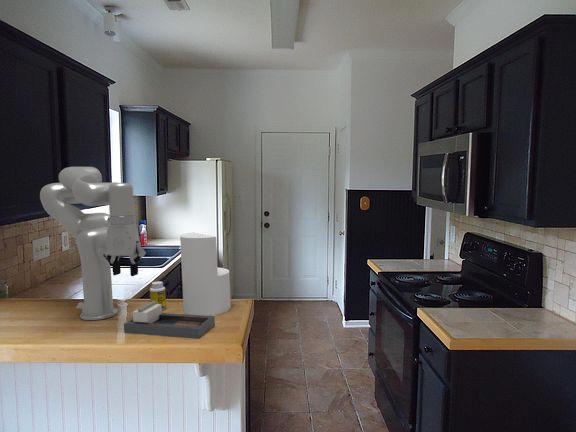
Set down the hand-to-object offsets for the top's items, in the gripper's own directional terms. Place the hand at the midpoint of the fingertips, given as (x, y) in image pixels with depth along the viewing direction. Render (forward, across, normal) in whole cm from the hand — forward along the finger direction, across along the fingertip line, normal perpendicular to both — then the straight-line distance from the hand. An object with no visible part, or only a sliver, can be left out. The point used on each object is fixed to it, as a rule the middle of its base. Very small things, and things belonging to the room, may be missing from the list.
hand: (125, 274), depth 142 cm
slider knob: (+16, +7, 0) cm, 17 cm away
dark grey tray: (+18, +16, 0) cm, 23 cm away
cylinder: (+18, +18, +22) cm, 34 cm away
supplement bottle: (+18, 0, +18) cm, 25 cm away
